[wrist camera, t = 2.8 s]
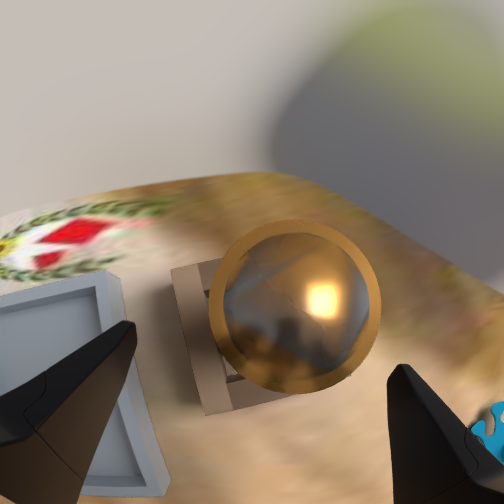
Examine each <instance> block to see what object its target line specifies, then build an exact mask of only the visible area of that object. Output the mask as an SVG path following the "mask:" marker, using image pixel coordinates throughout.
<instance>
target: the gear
mask: <svg viewBox="0 0 504 504" xmlns="http://www.w3.org/2000/svg"><path fill="white" fill-rule="evenodd" d="M503 411H504V402H498V403H496V404H494V405H492V406H491V414H492V415H493V417H494V420H495V428H494V433H493V434H492V435H491V436H490V437H487V436H486V435H485V426H486V425H485V422H484V421H483V420H480V421H479V422H477V423H476V424H475V425H474V426H473V427H472V428H471V433H472V434H473V435H476V436H478V437H479V438H480V439H481V440H482V442H483V444H484V446H485V447H486V448H487V449H488V450H489V451H490V452H491V453H492V454H493V455H494V456H495V457H496V458H497V459H498V460H499V461H500V462H501V463H502V464H503V465H504V423H502V422H501V420H500V417H501V414H502V413H503Z"/></svg>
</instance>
